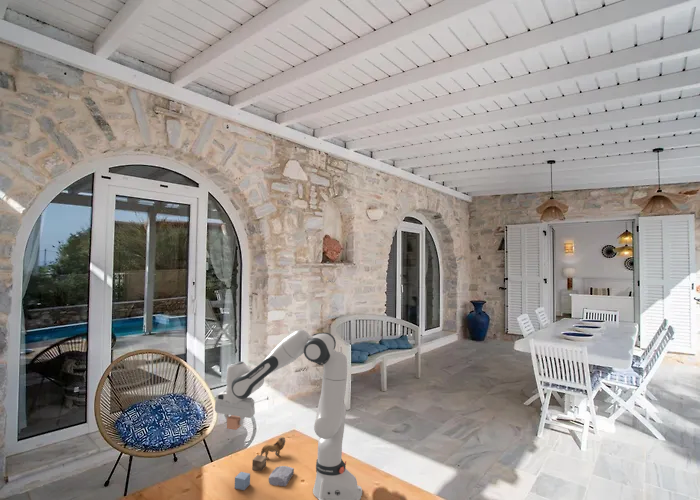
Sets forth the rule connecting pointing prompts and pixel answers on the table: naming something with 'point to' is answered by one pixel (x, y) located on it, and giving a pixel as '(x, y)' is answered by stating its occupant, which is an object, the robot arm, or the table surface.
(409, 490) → the table surface
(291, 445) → the table surface
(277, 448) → the lion figurine
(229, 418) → the terracotta cube
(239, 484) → the slate-blue cube
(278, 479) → the stone block
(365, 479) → the table surface
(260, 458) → the walnut cube
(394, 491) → the table surface
